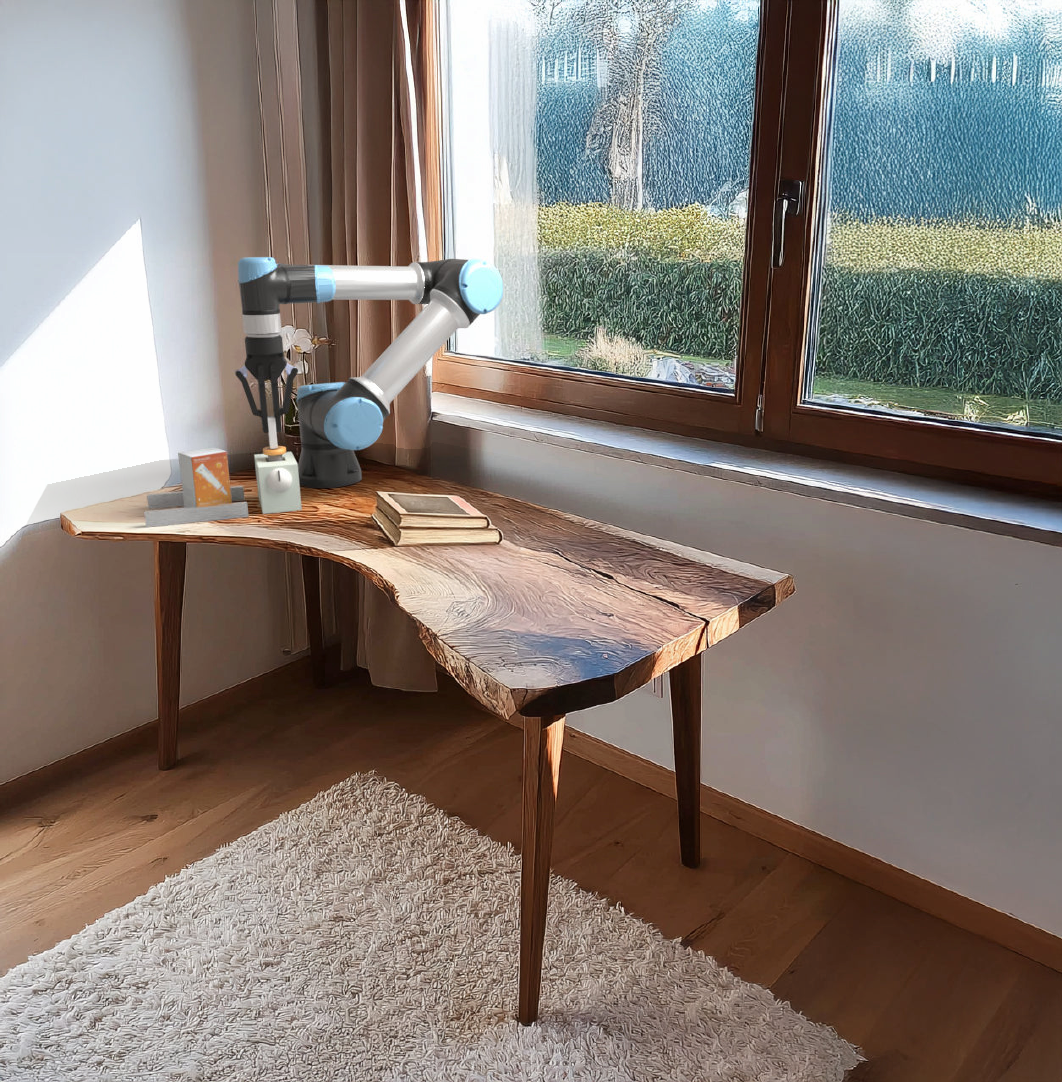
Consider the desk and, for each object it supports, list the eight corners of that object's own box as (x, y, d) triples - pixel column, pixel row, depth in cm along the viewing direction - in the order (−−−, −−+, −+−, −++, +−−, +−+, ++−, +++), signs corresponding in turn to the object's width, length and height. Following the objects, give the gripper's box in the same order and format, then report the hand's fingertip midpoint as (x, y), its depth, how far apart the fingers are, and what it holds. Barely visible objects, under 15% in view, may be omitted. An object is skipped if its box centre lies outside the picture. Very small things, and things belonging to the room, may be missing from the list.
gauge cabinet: (295, 495, 221) (291, 451, 217) (302, 510, 208) (297, 464, 205) (258, 498, 218) (254, 454, 215) (263, 514, 206) (258, 468, 203)
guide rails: (244, 498, 218) (243, 485, 217) (248, 516, 204) (247, 503, 203) (148, 507, 212) (146, 494, 211) (146, 527, 198) (144, 513, 197)
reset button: (287, 472, 214) (284, 445, 213) (289, 477, 210) (286, 449, 208) (264, 474, 213) (261, 447, 211) (266, 479, 209) (263, 451, 207)
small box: (197, 518, 204) (190, 457, 200) (184, 512, 209) (176, 452, 205) (233, 510, 209) (227, 450, 205) (220, 504, 214) (213, 446, 210)
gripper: (293, 331, 208) (302, 441, 215) (229, 334, 204) (241, 446, 211) (297, 335, 201) (306, 448, 208) (231, 338, 197) (243, 453, 204)
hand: (273, 447), depth 210 cm, fingers closed
